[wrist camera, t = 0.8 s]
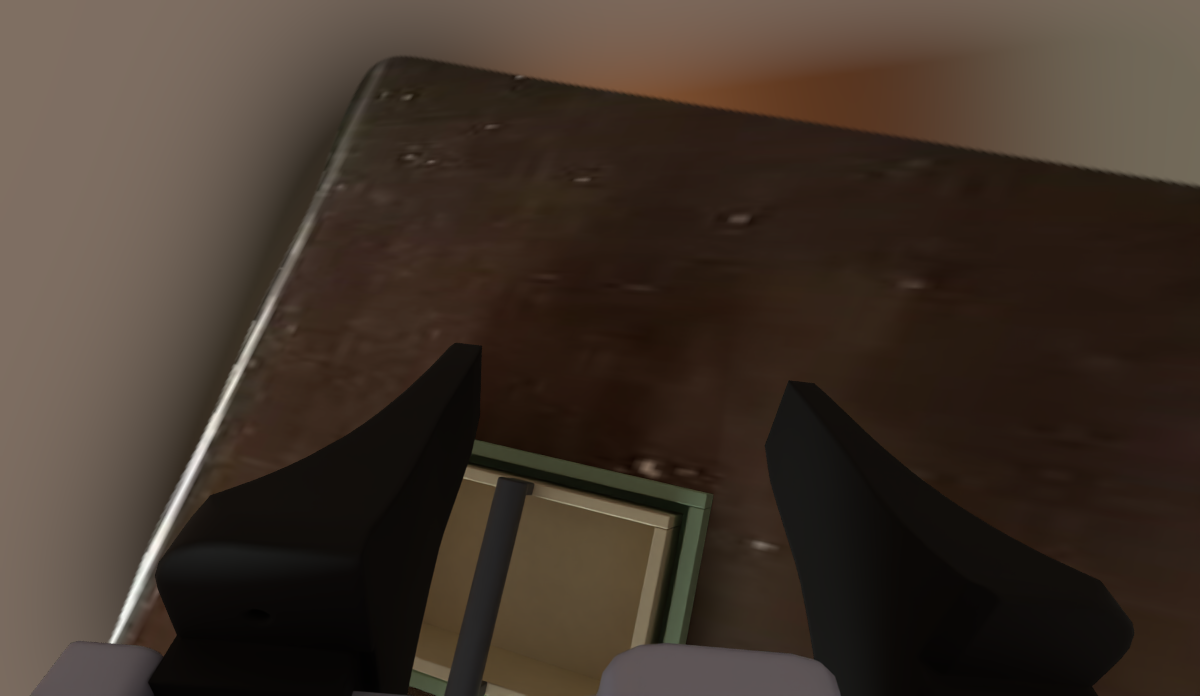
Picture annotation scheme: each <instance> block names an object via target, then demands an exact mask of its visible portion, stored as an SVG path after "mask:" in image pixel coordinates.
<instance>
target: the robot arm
mask: <svg viewBox="0 0 1200 696" xmlns="http://www.w3.org/2000/svg"><path fill="white" fill-rule="evenodd" d="M481 357H482V346H479V345H471V344H462V343H454V344H453V345H451V346H450V347H449V348H448V349H447V350H446V351H445V353H444V354H443V355H442V356H441V357H440V358H439V359H438V360H437V361H436V362H435V363H434V364H433V365H432V366H431V367H430V368H429V369H428V370H427V371H426V372H425V373H424V374H423V375H422V376H421V377H420V378H419V379H418V380H417V381H415V382H414V383H413V384H412V385H411V386H410V387H409V388H408V389H407V390H406V391H405V392H403V393H402V394H401V395H400V396H399V397H397V398H396V399H395V400H394V401H393V402H391V403H390V404H389V405H388V406H386V407H385V408H384V409H383V410H382V411H380V412H379V413H378V414H376V415H375V416H374V417H372V418H371V419H370V420H368V421H367V422H365V423H364V424H363V425H361V426H360V427H358V428H357V429H355V430H354V431H352V432H351V433H349V434H348V435H346V436H344V437H343V438H341V439H339V440H337V441H335V442H334V443H332V444H330V445H328V446H326V447H325V448H323V449H321V450H319V451H317V452H316V453H314V454H312V455H310V456H308V457H306V458H304V459H302V460H300V461H298V462H295V463H293V464H291V465H289V466H287V467H285V468H282V469H280V470H278V471H275V472H273V473H271V474H268V475H266V476H263V477H261V478H258V479H256V480H253V481H250V482H247V483H245V484H242V485H239V486H236V487H233V488H231V489H228V490H225V491H222V492H219V493H216V494H213V495H210V497H209V498H208V499H207V500H206V501H205V502H204V504H203V505H202V506H201V507H200V508H199V509H198V510H197V511H196V513H195V514H194V515H193V516H192V517H191V519H190V520H189V521H188V523H187V524H186V525H185V527H184V528H183V529H182V531H181V532H180V534H179V535H178V536H177V538H176V539H175V541H174V542H173V543H172V545H171V546H170V548H169V549H168V550H167V552H166V553H165V554H164V556H163V557H162V559H161V560H160V561H159V563H158V567H157V570H156V574H155V578H156V583H157V588H158V591H159V593H160V595H161V598H162V600H163V603H164V605H165V607H166V610H167V612H168V615H169V617H170V619H171V622H172V624H173V627H174V629H175V631H176V634H177V636H176V638H175V639H174V641H173V643H172V644H171V646H170V647H169V649H168V651H167V652H166V654H165V655H164V657H163V656H162V655H161V654H160V653H159V652H157V651H155V650H153V649H151V648H147V647H142V646H135V645H123V644H110V643H98V642H85V641H76V642H72V643H70V644H69V645H68V647H67V648H66V649H65V650H64V652H63V653H62V654H61V656H60V657H59V658H58V660H57V661H56V662H55V663H54V665H53V666H52V667H51V669H50V670H49V671H48V673H47V674H46V675H45V676H44V678H43V679H42V680H41V682H40V683H39V684H38V686H37V687H36V688H35V690H34V691H33V692H32V693H31V695H30V696H410V695H407V693H408V688H409V683H410V678H411V673H412V668H413V664H414V659H415V654H416V649H417V645H418V640H419V635H420V631H421V626H422V622H423V617H424V613H425V608H426V604H427V599H428V595H429V590H430V586H431V582H432V577H433V573H434V569H435V565H436V560H437V556H438V552H439V548H440V545H441V541H442V538H443V535H444V531H445V528H446V525H447V523H448V520H449V517H450V514H451V511H452V508H453V505H454V503H455V500H456V497H457V494H458V491H459V488H460V486H461V483H462V480H463V477H464V474H465V471H466V468H467V465H468V462H469V459H470V457H471V454H472V450H473V445H474V441H475V436H476V431H477V426H478V421H479V417H480V391H481ZM765 449H766V457H767V464H768V470H769V476H770V482H771V486H772V489H773V493H774V496H775V499H776V503H777V506H778V509H779V512H780V516H781V519H782V522H783V525H784V528H785V532H786V535H787V538H788V541H789V544H790V548H791V551H792V554H793V557H794V560H795V564H796V567H797V571H798V575H799V579H800V583H801V588H802V593H803V598H804V603H805V608H806V613H807V619H808V624H809V630H810V636H811V642H812V648H813V654H814V659H810V658H806V657H802V656H799V655H795V654H788V653H777V652H765V651H753V650H742V649H730V648H719V647H707V646H696V645H684V644H673V643H661V644H646V645H639V646H636V647H634V648H632V649H629V650H627V651H624V652H622V653H620V654H618V655H617V656H615V657H614V658H613V659H612V661H611V662H610V663H609V665H608V666H607V667H606V669H605V670H604V671H603V673H602V677H601V681H600V685H599V689H598V692H597V694H596V695H588V696H1098V695H1097V694H1096V692H1095V691H1094V689H1093V687H1092V686H1093V685H1094V684H1095V683H1096V682H1097V681H1098V680H1099V679H1100V678H1101V677H1102V676H1103V675H1104V674H1106V673H1107V672H1108V671H1109V670H1110V669H1111V668H1112V667H1113V666H1114V665H1115V664H1116V663H1117V662H1118V661H1119V660H1120V659H1121V658H1122V657H1123V655H1124V654H1125V653H1126V652H1127V650H1128V649H1129V648H1130V645H1131V642H1132V639H1133V636H1134V629H1133V624H1132V622H1131V620H1130V619H1129V618H1128V616H1127V615H1126V614H1125V612H1124V611H1123V610H1122V608H1121V607H1120V606H1119V604H1118V603H1117V602H1116V600H1115V599H1114V598H1113V596H1112V595H1111V594H1110V592H1109V591H1108V590H1107V588H1106V587H1105V586H1104V584H1103V583H1102V582H1101V581H1100V580H1098V579H1095V578H1093V577H1091V576H1089V575H1087V574H1085V573H1082V572H1080V571H1078V570H1076V569H1074V568H1072V567H1069V566H1067V565H1065V564H1063V563H1061V562H1059V561H1056V560H1054V559H1052V558H1050V557H1048V556H1046V555H1044V554H1042V553H1040V552H1038V551H1036V550H1034V549H1032V548H1030V547H1028V546H1027V545H1025V544H1023V543H1021V542H1019V541H1017V540H1015V539H1013V538H1011V537H1010V536H1008V535H1006V534H1004V533H1003V532H1001V531H999V530H997V529H996V528H994V527H992V526H990V525H989V524H987V523H986V522H984V521H982V520H981V519H979V518H978V517H976V516H974V515H973V514H971V513H969V512H968V511H966V510H965V509H963V508H961V507H960V506H958V505H957V504H955V503H954V502H952V501H951V500H950V499H948V498H947V497H945V496H944V495H942V494H941V493H940V492H938V491H937V490H936V489H934V488H933V487H931V486H930V485H929V484H927V483H926V482H925V481H923V480H922V479H920V478H919V477H918V476H917V475H915V474H914V473H913V472H911V471H910V470H909V469H908V468H907V467H905V466H904V465H903V464H902V463H901V462H899V461H898V460H897V459H896V458H895V457H893V456H892V455H891V454H890V453H889V452H888V451H886V450H885V449H884V448H883V447H882V446H881V445H880V444H879V443H877V442H876V441H875V440H874V439H873V438H872V437H871V436H870V435H869V434H868V433H867V432H865V431H864V430H863V429H862V428H861V427H860V426H859V425H858V424H857V423H856V422H855V421H854V420H853V419H852V418H851V417H850V416H849V415H848V414H847V413H846V412H845V411H843V410H842V409H841V408H840V407H839V406H838V405H837V404H836V403H835V402H834V401H833V400H832V399H831V398H830V397H829V396H828V395H827V394H826V393H825V392H823V391H822V390H821V389H820V388H819V387H818V386H817V385H815V384H814V383H806V382H798V381H788V384H787V386H786V389H785V392H784V395H783V397H782V400H781V403H780V406H779V408H778V411H777V414H776V417H775V419H774V422H773V425H772V428H771V430H770V433H769V436H768V439H767V441H766V444H765Z"/></svg>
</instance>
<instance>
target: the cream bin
mask: <svg viewBox="0 0 1200 696" xmlns="http://www.w3.org/2000/svg"><path fill="white" fill-rule="evenodd" d="M682 518H683V513H679V512H675V511H671V510H667V509H662V508H658V507H654V506H650V505H646V504H642V503H638V502H633V501H629V500H625V499H621V498H617V497H613V496H609V495H605V494H600V493H596V492H592V491H588V490H584V489H580V488H576V487H571V486H567V485H563V484H559V483H555V482H551V481H547V480H542V479H538V478H534V477H530V476H526V475H522V474H518V473H513V472H509V471H505V470H501V469H497V468H493V467H489V466H485V465H480V464H476V463H472V462H468V465H467V468H466V471H465V474H464V477H463V480H462V483H461V486H460V488H459V491H458V494H457V497H456V500H455V503H454V505H453V508H452V511H451V514H450V517H449V520H448V523H447V525H446V528H445V531H444V535H443V538H442V541H441V545H440V548H439V552H438V556H437V560H436V565H435V569H434V573H433V577H432V582H431V586H430V590H429V595H428V599H427V604H426V608H425V613H424V617H423V622H422V626H421V631H420V635H419V640H418V645H417V649H416V654H415V659H414V664H413V668H412V669H414V670H417V671H420V672H422V673H425V674H428V675H431V676H434V677H436V678H439V679H442V680H445V681H448V682H447V686H446V690H445V694H444V696H484V695H487V696H588V695H596V694H597V692H598V689H599V685H600V681H601V677H602V673H603V671H604V670H605V669H606V667H607V666H608V665H609V663H610V662H611V661H612V659H613V658H614V657H615V656H617V655H618V654H620V653H622V652H624V651H627V650H629V649H632V648H634V647H636V646H639V645H646V644H658V642H659V637H660V632H661V627H662V621H663V616H664V611H665V606H666V601H667V596H668V590H669V585H670V580H671V575H672V570H673V565H674V559H675V554H676V549H677V544H678V539H679V534H680V528H681V523H682Z"/></svg>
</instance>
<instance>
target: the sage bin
mask: <svg viewBox="0 0 1200 696" xmlns="http://www.w3.org/2000/svg"><path fill="white" fill-rule="evenodd" d="M469 462H472V463H476V464H480V465H485V466H489V467H493V468H497V469H501V470H505V471H509V472H513V473H518V474H522V475H526V476H530V477H534V478H538V479H542V480H547V481H551V482H555V483H559V484H563V485H567V486H571V487H576V488H580V489H584V490H588V491H592V492H596V493H600V494H605V495H609V496H613V497H617V498H621V499H625V500H629V501H633V502H638V503H642V504H646V505H650V506H654V507H658V508H662V509H667V510H671V511H675V512H679V513H683V518H682V523H681V528H680V534H679V539H678V544H677V549H676V554H675V559H674V565H673V570H672V575H671V580H670V585H669V590H668V596H667V601H666V606H665V611H664V616H663V621H662V627H661V632H660V637H659V642H658V644H661V643H673V644H684V645H686V640H687V635H688V629H689V624H690V618H691V613H692V608H693V602H694V597H695V592H696V586H697V581H698V575H699V570H700V565H701V559H702V554H703V549H704V543H705V538H706V532H707V527H708V522H709V516H710V511H711V505H712V500H713V494H710V493H706V492H701V491H697V490H693V489H688V488H684V487H680V486H675V485H671V484H667V483H662V482H658V481H653V480H649V479H645V478H640V477H636V476H632V475H627V474H623V473H619V472H614V471H610V470H606V469H601V468H597V467H593V466H588V465H584V464H580V463H575V462H571V461H566V460H562V459H558V458H553V457H549V456H545V455H540V454H536V453H532V452H527V451H523V450H519V449H514V448H510V447H506V446H501V445H497V444H493V443H488V442H484V441H479V440H475V441H474V445H473V450H472V454H471V457H470V459H469ZM447 682H448V681H445V680H442V679H439V678H436V677H434V676H431V675H428V674H425V673H422V672H420V671H417V670H414V669H412V673H411V678H410V683H409V686H412V687H414V688H417V689H420V690H423V691H425V692H428V693H431V694H434V695H436V696H444V694H445V690H446V686H447ZM484 696H487V695H484Z"/></svg>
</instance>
